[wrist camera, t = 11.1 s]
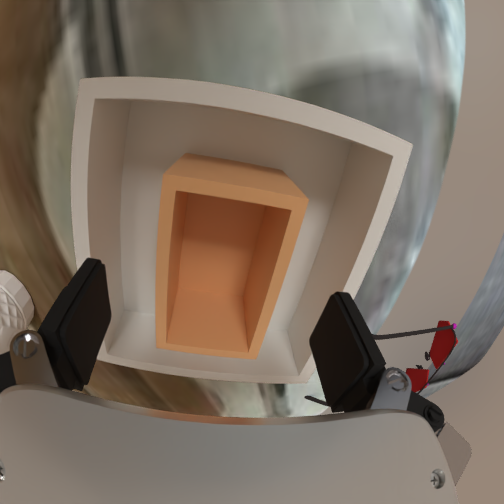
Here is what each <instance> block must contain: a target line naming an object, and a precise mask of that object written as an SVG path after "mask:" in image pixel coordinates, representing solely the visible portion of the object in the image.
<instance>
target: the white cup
mask: <svg viewBox="0 0 504 504" xmlns="http://www.w3.org/2000/svg"><path fill="white" fill-rule="evenodd" d="M33 316H34V305H33V302H32V299H31V296H30V295H29V293H28V291H27V290H26V288H25V287H24V285H23V284H22V283H21V282H20V281H19V280H18V279H17V278H16V277H15V276H14V275H13V274H11V273H9V272H7V271H5V270H0V354H3V353H5V352H8V351H10V343H11V340H12V339H13V337H14V336H15V335H16V334H17V333H19V332H21V331H24V330H26V328H27V327H28V325H29V323H30V322H31V320H32V318H33Z"/></svg>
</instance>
